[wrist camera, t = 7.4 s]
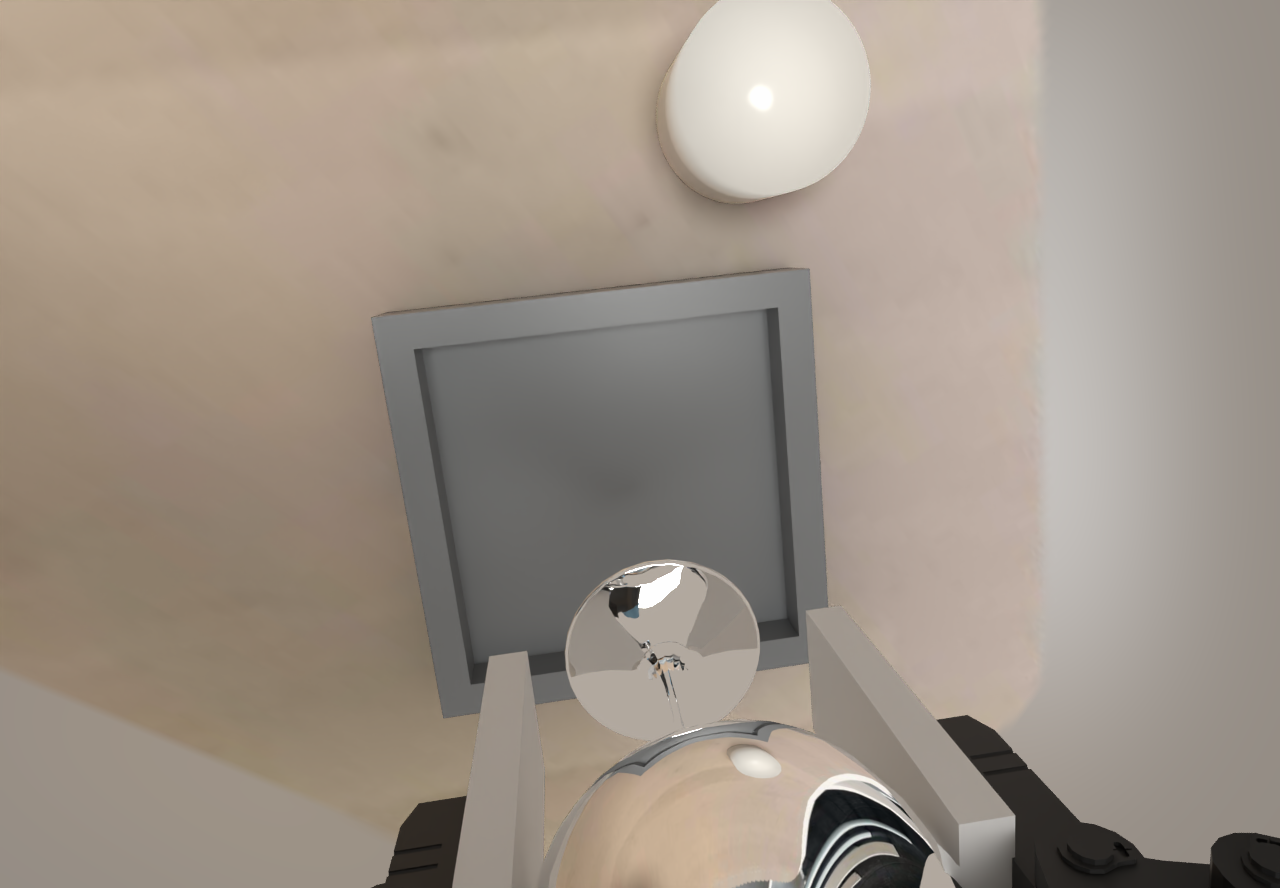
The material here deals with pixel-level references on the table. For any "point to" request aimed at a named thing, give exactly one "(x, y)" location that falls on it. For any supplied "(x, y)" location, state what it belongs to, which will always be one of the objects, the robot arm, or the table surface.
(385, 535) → the table surface
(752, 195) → the white pillar candle
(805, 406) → the tray
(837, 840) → the wineglass
